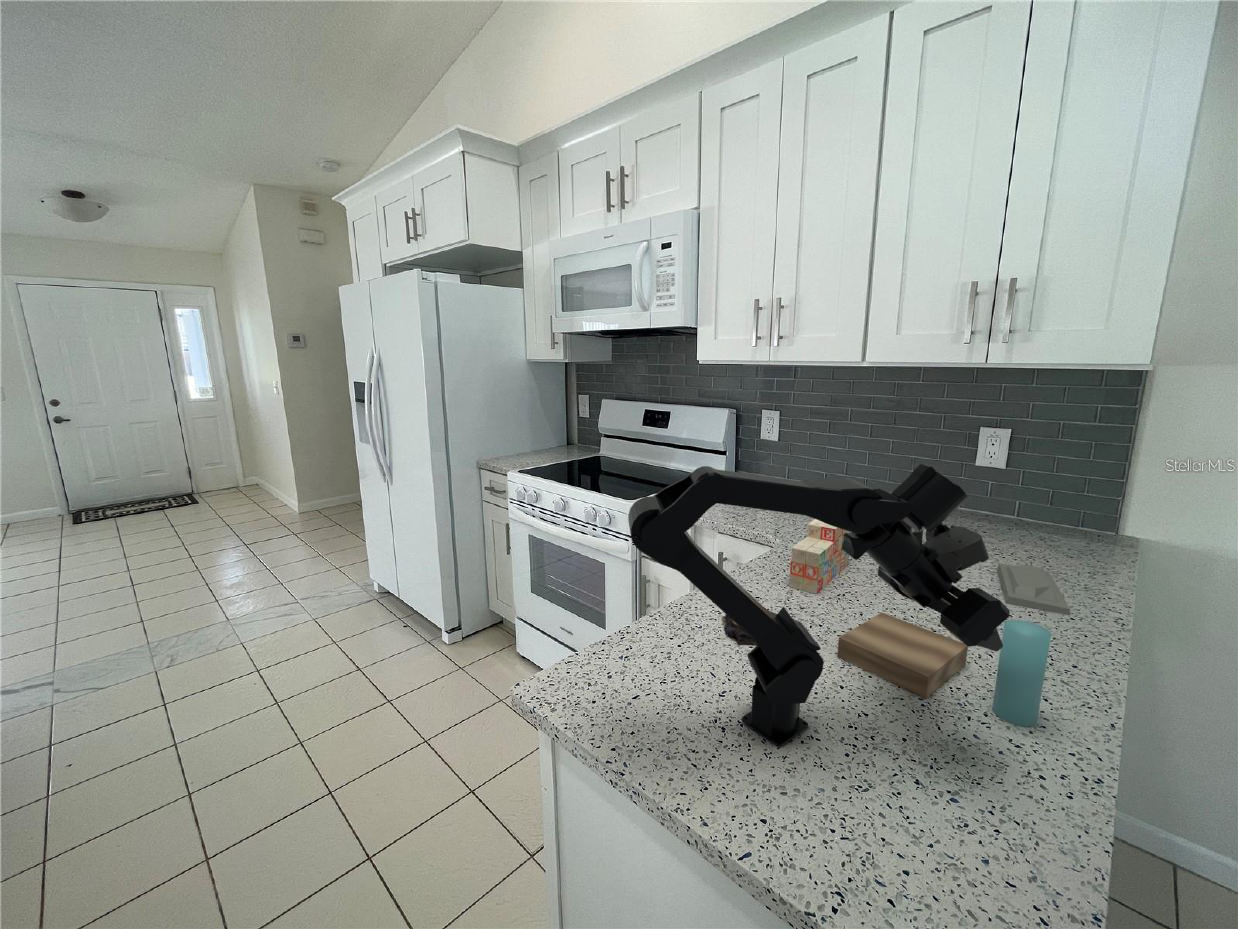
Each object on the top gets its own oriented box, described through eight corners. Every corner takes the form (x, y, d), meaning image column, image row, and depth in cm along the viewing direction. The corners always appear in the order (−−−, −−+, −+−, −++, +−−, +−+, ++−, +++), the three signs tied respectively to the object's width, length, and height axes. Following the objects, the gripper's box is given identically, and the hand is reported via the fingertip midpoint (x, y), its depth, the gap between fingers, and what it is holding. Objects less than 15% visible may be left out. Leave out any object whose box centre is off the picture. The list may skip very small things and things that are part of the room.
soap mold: (1004, 606, 105) (1006, 589, 104) (995, 571, 122) (997, 557, 121) (1070, 618, 100) (1073, 601, 99) (1051, 580, 117) (1053, 565, 116)
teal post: (1029, 732, 69) (1044, 642, 67) (986, 712, 73) (998, 627, 71) (1042, 716, 72) (1056, 630, 70) (999, 698, 76) (1011, 616, 74)
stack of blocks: (817, 595, 110) (821, 540, 108) (788, 587, 114) (791, 534, 112) (848, 564, 126) (852, 515, 124) (822, 558, 130) (825, 511, 128)
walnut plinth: (926, 698, 76) (928, 677, 76) (837, 656, 87) (838, 637, 87) (965, 664, 84) (968, 645, 84) (880, 630, 95) (881, 612, 95)
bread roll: (718, 620, 102) (718, 602, 101) (761, 618, 102) (762, 601, 101) (730, 649, 91) (731, 630, 90) (778, 648, 91) (779, 628, 90)
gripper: (1004, 534, 57) (1085, 623, 60) (905, 492, 75) (970, 561, 78) (926, 604, 58) (1009, 688, 61) (847, 545, 77) (914, 612, 79)
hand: (973, 629), depth 70 cm, fingers open, 9 cm apart
